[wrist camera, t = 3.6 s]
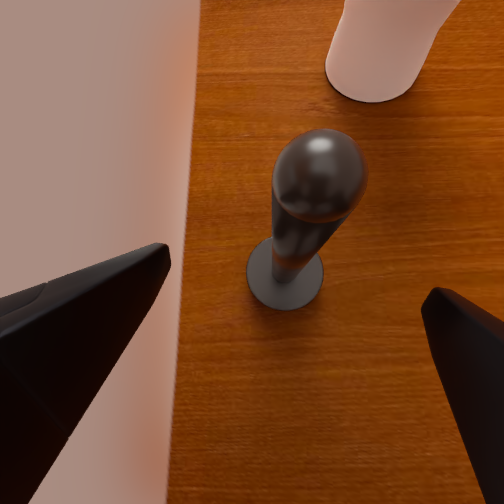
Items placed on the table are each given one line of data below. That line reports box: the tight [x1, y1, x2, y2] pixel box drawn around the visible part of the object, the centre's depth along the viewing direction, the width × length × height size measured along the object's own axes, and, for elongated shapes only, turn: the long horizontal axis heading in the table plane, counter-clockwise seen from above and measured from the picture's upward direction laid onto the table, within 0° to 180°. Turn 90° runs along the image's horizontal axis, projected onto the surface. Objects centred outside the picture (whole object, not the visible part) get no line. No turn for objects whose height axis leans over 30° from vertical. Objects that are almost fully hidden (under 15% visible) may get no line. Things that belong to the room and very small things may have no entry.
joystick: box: [246, 129, 368, 311], centre depth 10 cm, size 5×5×14 cm
